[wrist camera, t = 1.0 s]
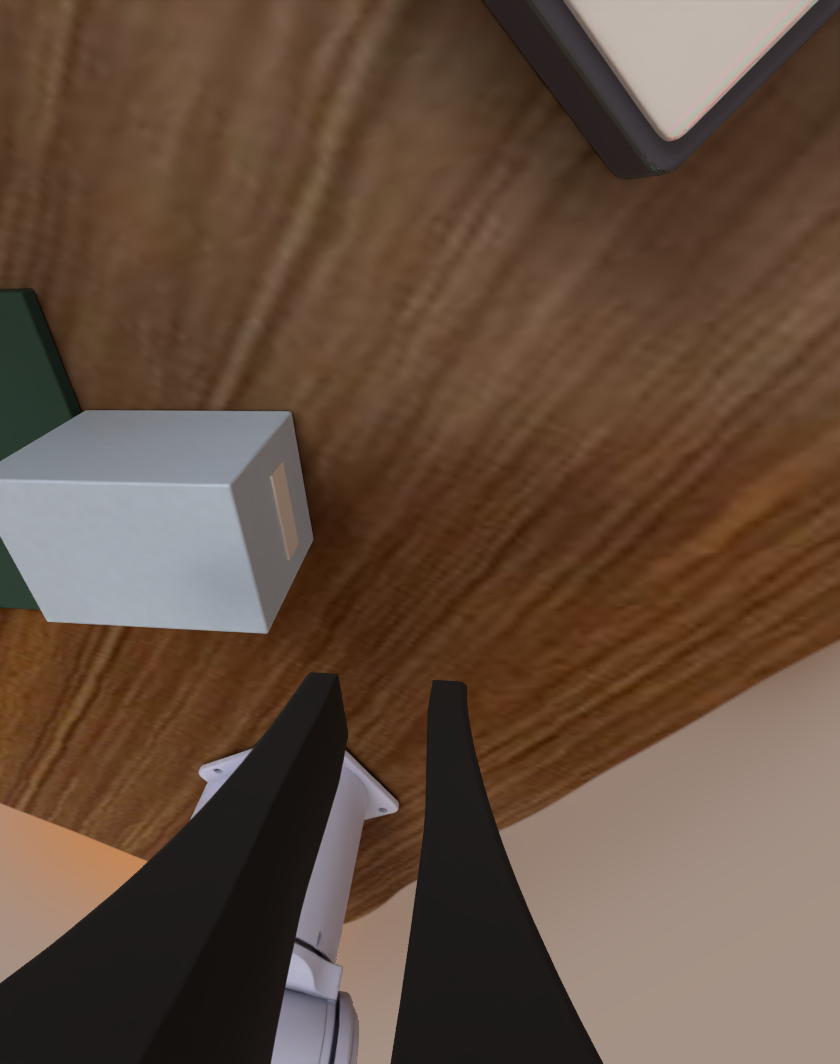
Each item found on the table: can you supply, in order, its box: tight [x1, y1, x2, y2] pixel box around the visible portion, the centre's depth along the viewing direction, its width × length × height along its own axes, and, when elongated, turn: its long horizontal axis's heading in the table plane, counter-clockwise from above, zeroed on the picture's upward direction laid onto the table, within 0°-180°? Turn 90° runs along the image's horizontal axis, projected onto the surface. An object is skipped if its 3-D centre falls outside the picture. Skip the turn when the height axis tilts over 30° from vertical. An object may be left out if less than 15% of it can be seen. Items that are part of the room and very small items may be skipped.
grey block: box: [0, 410, 313, 634], centre depth 19 cm, size 8×6×6 cm
